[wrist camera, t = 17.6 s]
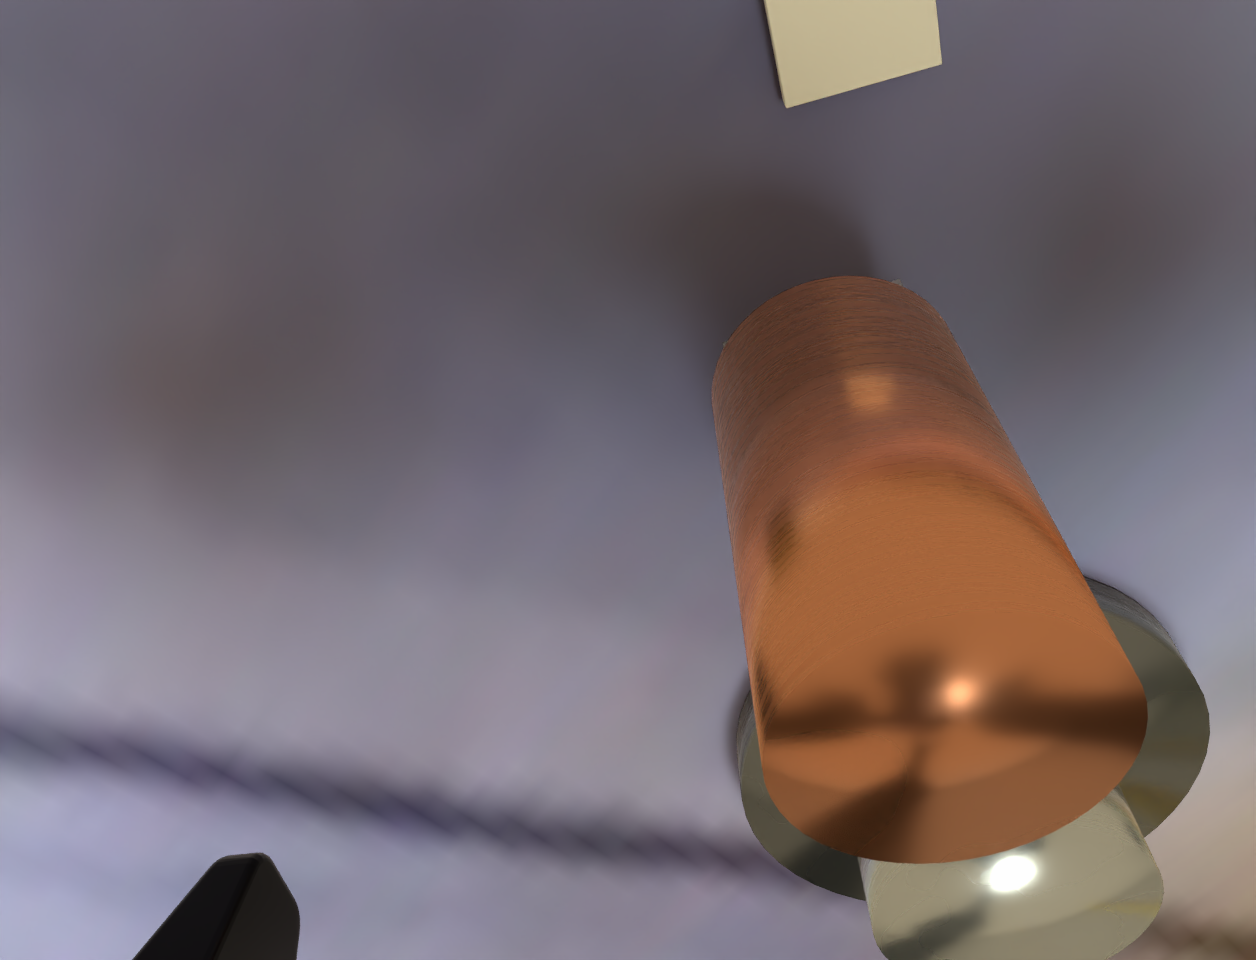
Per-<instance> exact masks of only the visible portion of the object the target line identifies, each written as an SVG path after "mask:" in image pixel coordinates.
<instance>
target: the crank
mask: <svg viewBox="0 0 1256 960" xmlns="http://www.w3.org/2000/svg"><path fill="white" fill-rule="evenodd" d="M712 408H713V415H714V423H715V430H716V437H717V444H718V452H719V459H720V466H721V474H722V481H723V488H724V495H725V503H726V510H727V517H728V525H729V532H730V539H731V546H732V554H733V561H734V568H735V575H736V583H737V590H738V597H739V605H740V612H741V619H742V626H743V634H744V641H745V648H746V656H747V663H748V670H749V677H750V685H751V692H752V699H753V707H754V714H755V721H756V728H757V736H758V743H759V750H760V757H761V765H762V771H763V776H764V782H765V785H766V788H767V790H768V793H769V795H770V798H771V799H772V801H773V802H774V804H775V805H776V807H777V808H778V810H779V812H780V813H781V814H782V815H783V816H784V817H785V818H786V819H787V820H788V821H789V822H790V823H791V824H792V825H793V826H795V827H796V828H797V829H798V830H800V831H801V832H802V833H804V834H805V835H807V836H809V837H810V838H812V839H814V840H815V841H817V842H819V843H821V844H823V845H825V846H828V847H830V848H832V849H835V850H837V851H840V852H843V853H847V854H850V855H853V856H856V857H857V858H858V863H859V868H860V872H861V877H862V882H863V887H864V891H865V896H866V901H867V906H868V910H869V915H870V920H871V925H872V929H873V934H874V938H875V940H876V943H877V946H878V947H879V949H880V950H881V952H882V953H883V954H884V955H885V957H886V958H887V959H888V960H1106V959H1108V958H1110V957H1111V956H1113V955H1115V954H1116V953H1118V952H1120V951H1121V950H1123V949H1124V948H1125V947H1127V946H1128V945H1130V944H1131V943H1132V942H1133V941H1134V940H1136V939H1137V938H1138V937H1139V936H1140V935H1141V934H1142V933H1143V932H1144V931H1145V930H1146V929H1147V928H1148V926H1149V925H1150V924H1151V923H1152V921H1153V920H1154V918H1155V916H1156V915H1157V913H1158V911H1159V909H1160V906H1161V904H1162V899H1163V894H1164V888H1163V880H1162V877H1161V874H1160V871H1159V869H1158V867H1157V865H1156V863H1155V861H1154V858H1153V856H1152V854H1151V852H1150V850H1149V848H1148V846H1147V843H1146V841H1145V839H1144V837H1143V835H1142V833H1141V831H1140V829H1139V826H1138V824H1137V822H1136V820H1135V818H1134V816H1133V814H1132V812H1131V809H1130V807H1129V805H1128V803H1127V801H1126V799H1125V797H1124V795H1123V792H1122V790H1121V788H1120V786H1119V782H1120V781H1121V780H1122V779H1123V777H1124V776H1125V775H1126V773H1127V772H1128V771H1129V769H1130V768H1131V767H1132V765H1133V763H1134V761H1135V759H1136V757H1137V755H1138V754H1139V752H1140V749H1141V746H1142V744H1143V741H1144V738H1145V735H1146V728H1147V721H1148V710H1147V700H1146V696H1145V693H1144V689H1143V686H1142V684H1141V682H1140V680H1139V678H1138V676H1137V675H1136V673H1135V671H1134V669H1133V667H1132V665H1131V664H1130V662H1129V660H1128V658H1127V656H1126V654H1125V652H1124V651H1123V649H1122V647H1121V645H1120V643H1119V641H1118V640H1117V638H1116V636H1115V634H1114V632H1113V630H1112V628H1111V627H1110V625H1109V623H1108V621H1107V619H1106V617H1105V616H1104V614H1103V612H1102V610H1101V608H1100V606H1099V604H1098V603H1097V601H1096V599H1095V597H1094V595H1093V593H1092V592H1091V590H1090V588H1089V586H1088V584H1087V582H1086V581H1085V579H1084V577H1083V575H1082V573H1081V571H1080V569H1079V568H1078V566H1077V564H1076V562H1075V560H1074V558H1073V557H1072V555H1071V553H1070V551H1069V549H1068V547H1067V545H1066V544H1065V542H1064V540H1063V538H1062V536H1061V534H1060V533H1059V531H1058V529H1057V527H1056V525H1055V523H1054V521H1053V520H1052V518H1051V516H1050V514H1049V512H1048V510H1047V509H1046V507H1045V505H1044V503H1043V501H1042V499H1041V498H1040V496H1039V494H1038V492H1037V490H1036V488H1035V486H1034V485H1033V483H1032V481H1031V479H1030V477H1029V475H1028V474H1027V472H1026V470H1025V468H1024V466H1023V464H1022V462H1021V461H1020V459H1019V457H1018V455H1017V453H1016V451H1015V450H1014V448H1013V446H1012V444H1011V442H1010V440H1009V438H1008V437H1007V435H1006V433H1005V431H1004V429H1003V427H1002V426H1001V424H1000V422H999V420H998V418H997V416H996V414H995V413H994V411H993V409H992V407H991V405H990V403H989V402H988V400H987V398H986V396H985V394H984V392H983V391H982V389H981V387H980V385H979V383H978V381H977V379H976V378H975V376H974V374H973V372H972V370H971V368H970V367H969V365H968V363H967V361H966V359H965V357H964V355H963V354H962V352H961V350H960V348H959V346H958V344H957V343H956V341H955V339H954V337H953V335H952V333H951V332H950V330H949V328H948V326H947V324H946V322H945V321H944V320H943V318H942V317H941V316H940V314H939V313H938V312H937V311H936V310H935V309H934V308H933V307H932V306H931V305H930V304H929V303H928V302H927V301H926V300H924V299H923V298H921V297H920V296H919V295H917V294H916V293H914V292H913V291H911V290H908V289H906V288H904V287H903V285H902V283H901V281H900V279H897V280H894V281H891V282H889V281H886V280H882V279H877V278H871V277H864V276H837V277H829V278H823V279H818V280H813V281H810V282H807V283H804V284H800V285H797V286H795V287H793V288H791V289H788V290H786V291H784V292H782V293H780V294H778V295H776V296H775V297H773V298H771V299H770V300H768V301H766V302H765V303H764V304H762V305H761V306H760V307H758V308H757V309H756V310H754V311H753V312H752V313H751V314H750V315H749V316H748V317H747V318H746V319H745V320H744V321H743V322H742V323H741V324H740V325H739V326H738V328H737V329H736V330H735V331H734V333H733V334H732V335H731V337H730V338H729V340H728V341H726V342H723V350H722V353H721V355H720V357H719V359H718V362H717V365H716V368H715V372H714V375H713V383H712Z"/></svg>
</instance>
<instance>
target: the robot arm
mask: <svg viewBox="0 0 1256 960" xmlns="http://www.w3.org/2000/svg"><path fill="white" fill-rule="evenodd" d="M299 932H300V916H299V910H298V906H297V903H296V901H295V899H294V897H293V895H292V894H291V892H290V890H289V889H288V887H287V885H286V883H285V882H284V880H283V878H282V877H281V875H280V873H279V871H278V870H277V868H276V866H275V864H274V863H273V861H272V860H271V858H270V857H269V856H267V855H266V854H264V853H249V854H239V855H229V856H225V857H222V858H220V859H219V860H217V861H216V862H215V863H214V864H212V866H211V867H210V868H209V869H208V870H207V871H206V872H205V874H204V875H203V876H202V877H201V878H200V880H199V881H198V882H197V883H196V884H195V886H194V887H193V888H192V889H191V890H190V891H189V893H188V894H187V895H186V896H185V897H184V899H183V900H182V901H181V902H180V903H179V905H178V906H177V907H176V908H175V909H174V911H173V912H172V913H171V914H170V915H169V916H168V918H167V919H166V920H165V921H164V922H163V924H162V925H161V926H160V927H159V928H158V930H157V931H156V932H155V933H154V934H153V936H152V937H151V938H150V939H149V940H148V941H147V943H146V944H145V945H144V946H143V947H142V949H141V950H140V951H139V952H138V953H137V955H136V956H135V957H134V958H133V959H132V960H296V958H297V949H298V941H299Z"/></svg>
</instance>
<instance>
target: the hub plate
mask: <svg viewBox="0 0 1256 960" xmlns="http://www.w3.org/2000/svg"><path fill="white" fill-rule="evenodd" d="M1084 579H1085V581H1086V582H1087V584H1088V586H1089V588H1090V590H1091V592H1092V593H1093V595H1094V597H1095V599H1096V601H1097V603H1098V604H1099V606H1100V608H1101V610H1102V612H1103V614H1104V616H1105V617H1106V619H1107V621H1108V623H1109V625H1110V627H1111V628H1112V630H1113V632H1114V634H1115V636H1116V638H1117V640H1118V641H1119V643H1120V645H1121V647H1122V649H1123V651H1124V652H1125V654H1126V656H1127V658H1128V660H1129V662H1130V664H1131V665H1132V667H1133V669H1134V671H1135V673H1136V675H1137V676H1138V678H1139V680H1140V682H1141V684H1142V686H1143V689H1144V693H1145V696H1146V700H1147V710H1148V721H1147V728H1146V735H1145V738H1144V741H1143V744H1142V746H1141V749H1140V752H1139V754H1138V755H1137V757H1136V759H1135V761H1134V763H1133V765H1132V767H1131V768H1130V769H1129V771H1128V772H1127V773H1126V775H1125V776H1124V777H1123V779H1122V780H1121V781H1120V782H1119V786H1120V788H1121V790H1122V792H1123V795H1124V797H1125V799H1126V801H1127V803H1128V805H1129V807H1130V809H1131V812H1132V814H1133V816H1134V818H1135V820H1136V822H1137V824H1138V826H1139V829H1140V831H1141V833H1142V835H1143V837H1145V836H1147V835H1148V834H1149V833H1150V832H1152V831H1153V830H1154V829H1155V828H1157V827H1158V826H1159V825H1160V824H1161V823H1162V822H1163V821H1164V820H1165V819H1166V818H1167V817H1168V816H1169V815H1170V814H1171V813H1172V812H1173V811H1174V810H1175V808H1176V807H1177V806H1178V805H1179V803H1180V802H1181V801H1182V800H1183V798H1184V797H1185V796H1186V794H1187V793H1188V792H1189V790H1190V788H1191V787H1192V785H1193V783H1194V781H1195V780H1196V778H1197V776H1198V774H1199V772H1200V770H1201V767H1202V764H1203V762H1204V759H1205V756H1206V753H1207V748H1208V742H1209V736H1210V727H1209V713H1208V709H1207V705H1206V702H1205V698H1204V695H1203V693H1202V691H1201V689H1200V687H1199V685H1198V683H1197V682H1196V680H1195V678H1194V676H1193V674H1192V673H1191V671H1190V669H1189V668H1188V666H1187V664H1186V663H1185V661H1184V659H1183V658H1182V656H1181V654H1180V653H1179V651H1178V649H1177V648H1176V646H1175V644H1174V643H1173V641H1172V639H1171V638H1170V636H1169V634H1168V633H1167V632H1166V631H1165V629H1164V628H1163V627H1162V626H1161V625H1160V623H1159V622H1158V621H1157V620H1156V618H1155V617H1154V616H1153V615H1151V614H1150V613H1149V612H1148V611H1147V610H1145V609H1144V608H1143V607H1142V606H1141V605H1139V604H1138V603H1137V602H1136V601H1134V600H1132V599H1131V598H1129V597H1127V596H1125V595H1124V594H1122V593H1120V592H1119V591H1117V590H1115V589H1113V588H1111V587H1108V586H1106V585H1103V584H1101V583H1098V582H1096V581H1093V580H1091V579H1088V578H1084ZM736 743H737V760H738V769H739V778H740V786H741V795H742V801H743V806H744V810H745V814H746V818H747V820H748V822H749V824H750V826H751V828H752V831H753V833H754V834H755V836H756V837H757V839H758V840H759V841H760V843H761V844H762V845H763V847H764V848H765V849H766V850H767V851H768V852H769V853H770V854H771V855H772V856H773V857H774V858H775V859H776V860H777V861H778V862H779V863H780V864H782V865H783V866H785V867H786V868H787V869H789V870H790V871H792V872H793V873H794V874H796V875H798V876H800V877H801V878H803V879H805V880H807V881H809V882H811V883H813V884H814V885H817V886H819V887H822V888H825V889H827V890H830V891H832V892H835V893H838V894H841V895H845V896H848V897H852V898H855V899H859V900H865V901H866V896H865V891H864V887H863V882H862V877H861V872H860V868H859V863H858V858H857V857H856V856H853V855H850V854H847V853H843V852H840V851H837V850H835V849H832V848H830V847H828V846H825V845H823V844H821V843H819V842H817V841H815V840H814V839H812V838H810V837H809V836H807V835H805V834H804V833H802V832H801V831H800V830H798V829H797V828H796V827H795V826H793V825H792V824H791V823H790V822H789V821H788V820H787V819H786V818H785V817H784V816H783V815H782V814H781V813H780V812H779V810H778V808H777V807H776V805H775V804H774V802H773V801H772V799H771V798H770V795H769V793H768V790H767V788H766V785H765V782H764V776H763V771H762V765H761V757H760V750H759V743H758V736H757V728H756V721H755V714H754V707H753V699H752V692H751V690H750V692H749V694H748V695H747V697H746V700H745V703H744V706H743V708H742V711H741V714H740V717H739V723H738V729H737V735H736Z"/></svg>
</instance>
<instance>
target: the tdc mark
mask: <svg viewBox="0 0 1256 960" xmlns="http://www.w3.org/2000/svg"><path fill="white" fill-rule="evenodd" d="M764 4H765V10H766V15H767V20H768V25H769V30H770V36H771V41H772V46H773V51H774V57H775V62H776V67H777V72H778V77H779V83H780V88H781V93H782V98H783V102H784V104H785V107H786V108H789V107H793V106H796V105H800V104H803V103H807V102H811V101H814V100H818V99H821V98H825V97H828V96H832V95H835V94H839V93H842V92H846V91H849V90H853V89H856V88H860V87H863V86H867V85H870V84H874V83H877V82H881V81H885V80H888V79H892V78H895V77H899V76H902V75H906V74H909V73H913V72H916V71H920V70H923V69H927V68H930V67H934V66H937V65H941V64H942V59H941V49H940V39H939V29H938V20H937V10H936V0H764Z"/></svg>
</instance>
